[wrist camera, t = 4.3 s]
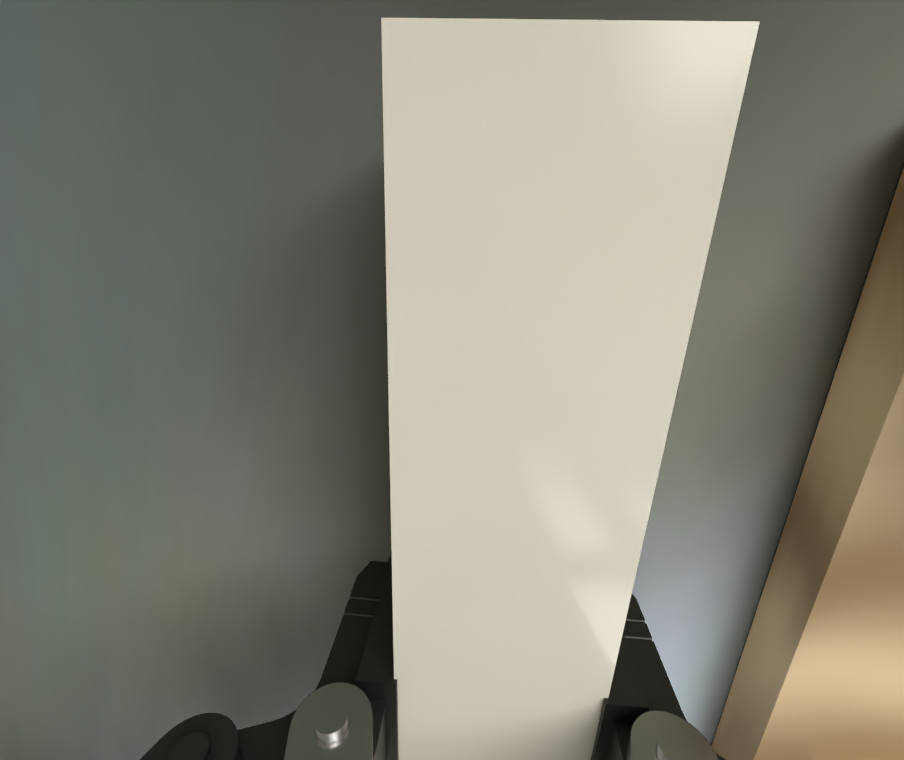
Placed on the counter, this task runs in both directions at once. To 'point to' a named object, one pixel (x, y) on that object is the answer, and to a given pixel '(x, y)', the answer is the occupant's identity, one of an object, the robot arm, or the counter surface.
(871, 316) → the wooden plate with pegs
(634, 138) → the cream white rectangular bar
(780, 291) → the counter surface
